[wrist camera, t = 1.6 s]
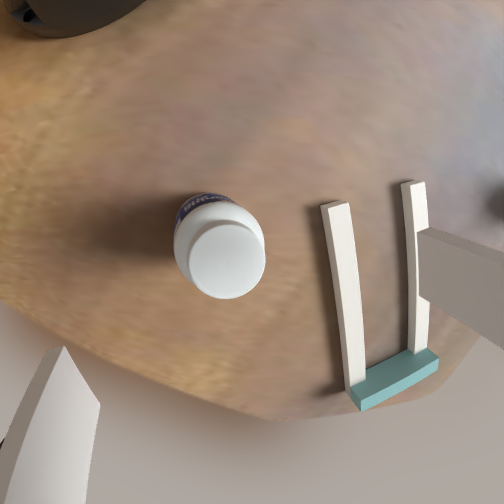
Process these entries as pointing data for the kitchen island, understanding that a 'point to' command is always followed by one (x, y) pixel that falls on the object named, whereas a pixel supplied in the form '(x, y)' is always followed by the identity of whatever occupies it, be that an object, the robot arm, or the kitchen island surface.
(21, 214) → the kitchen island surface
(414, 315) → the guide track
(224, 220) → the pill bottle
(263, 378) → the kitchen island surface
